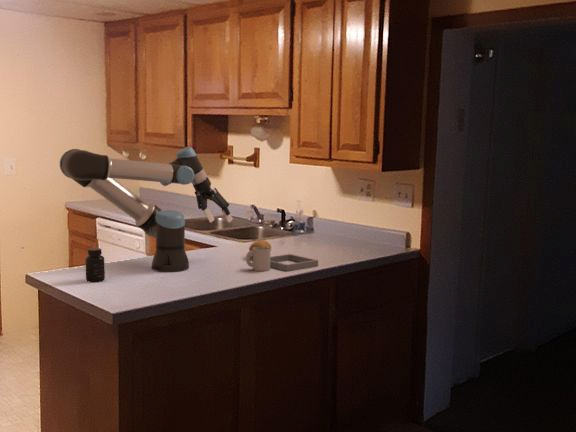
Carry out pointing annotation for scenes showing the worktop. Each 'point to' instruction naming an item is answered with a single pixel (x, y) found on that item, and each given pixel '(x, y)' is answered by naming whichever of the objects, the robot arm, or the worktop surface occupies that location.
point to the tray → (295, 266)
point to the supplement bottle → (95, 265)
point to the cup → (259, 258)
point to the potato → (260, 244)
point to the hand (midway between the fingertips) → (221, 221)
